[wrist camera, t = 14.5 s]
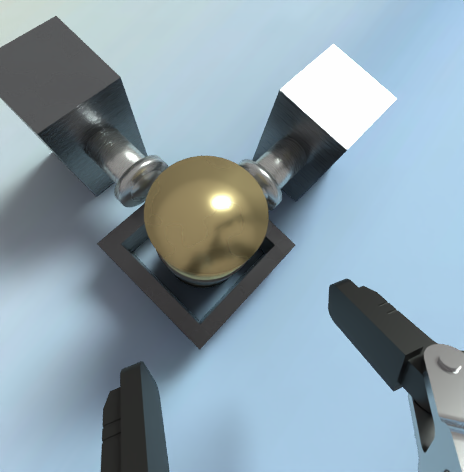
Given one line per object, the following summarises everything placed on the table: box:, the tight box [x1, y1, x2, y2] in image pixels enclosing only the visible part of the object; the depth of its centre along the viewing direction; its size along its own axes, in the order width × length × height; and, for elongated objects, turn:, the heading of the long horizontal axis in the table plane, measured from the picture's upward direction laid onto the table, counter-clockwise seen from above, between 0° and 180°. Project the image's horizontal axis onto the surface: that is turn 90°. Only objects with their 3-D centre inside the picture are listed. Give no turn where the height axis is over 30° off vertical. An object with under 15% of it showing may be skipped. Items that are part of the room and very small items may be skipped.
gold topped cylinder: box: [144, 156, 269, 288], centre depth 16 cm, size 5×5×10 cm
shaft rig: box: [0, 16, 397, 349], centre depth 18 cm, size 18×18×8 cm
